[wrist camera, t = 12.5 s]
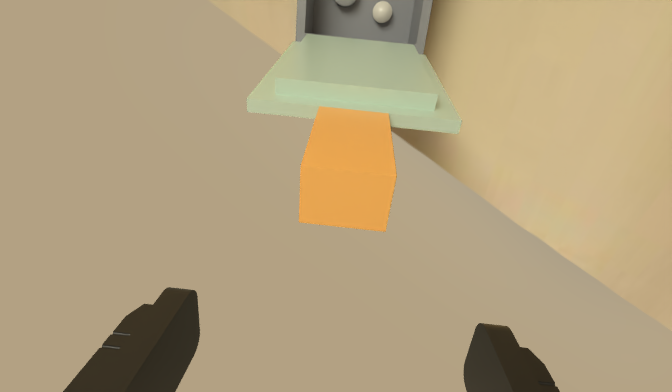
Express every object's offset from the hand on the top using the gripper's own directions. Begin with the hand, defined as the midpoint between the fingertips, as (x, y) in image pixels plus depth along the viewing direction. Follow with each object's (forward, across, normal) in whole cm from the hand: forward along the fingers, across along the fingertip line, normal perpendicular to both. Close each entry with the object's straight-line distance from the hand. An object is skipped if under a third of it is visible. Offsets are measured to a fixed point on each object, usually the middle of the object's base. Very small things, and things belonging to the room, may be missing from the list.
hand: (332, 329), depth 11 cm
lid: (+17, 0, -6) cm, 18 cm away
